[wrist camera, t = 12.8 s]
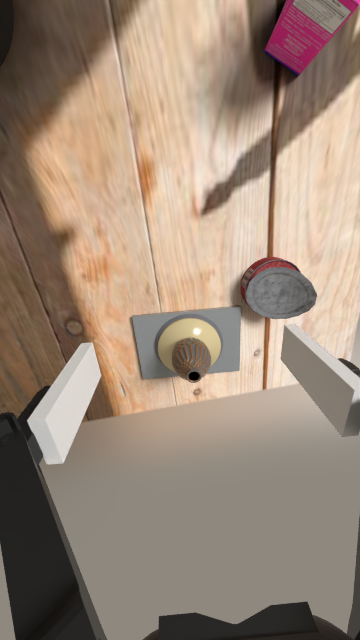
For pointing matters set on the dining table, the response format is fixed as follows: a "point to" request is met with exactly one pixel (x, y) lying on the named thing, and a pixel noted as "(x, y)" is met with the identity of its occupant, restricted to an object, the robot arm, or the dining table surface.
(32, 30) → the dining table surface
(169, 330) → the board
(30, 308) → the dining table surface
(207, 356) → the vase
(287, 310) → the canned food
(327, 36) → the supplement box
